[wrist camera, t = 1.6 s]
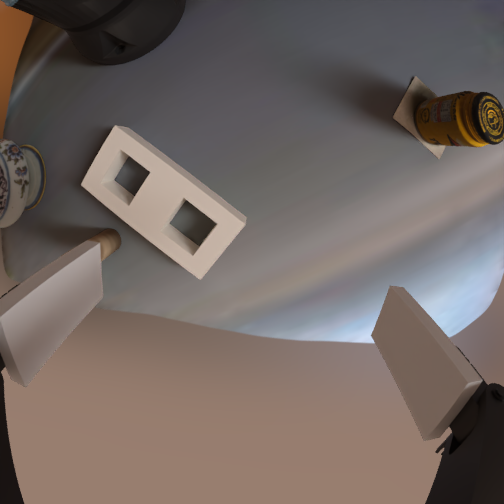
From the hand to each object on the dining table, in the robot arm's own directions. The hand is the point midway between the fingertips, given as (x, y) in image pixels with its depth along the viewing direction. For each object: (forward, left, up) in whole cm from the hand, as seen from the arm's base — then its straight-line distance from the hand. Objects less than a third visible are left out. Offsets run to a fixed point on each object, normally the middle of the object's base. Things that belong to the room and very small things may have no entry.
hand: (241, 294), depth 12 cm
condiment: (+9, +24, -22) cm, 34 cm away
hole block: (-9, -5, -22) cm, 24 cm away
